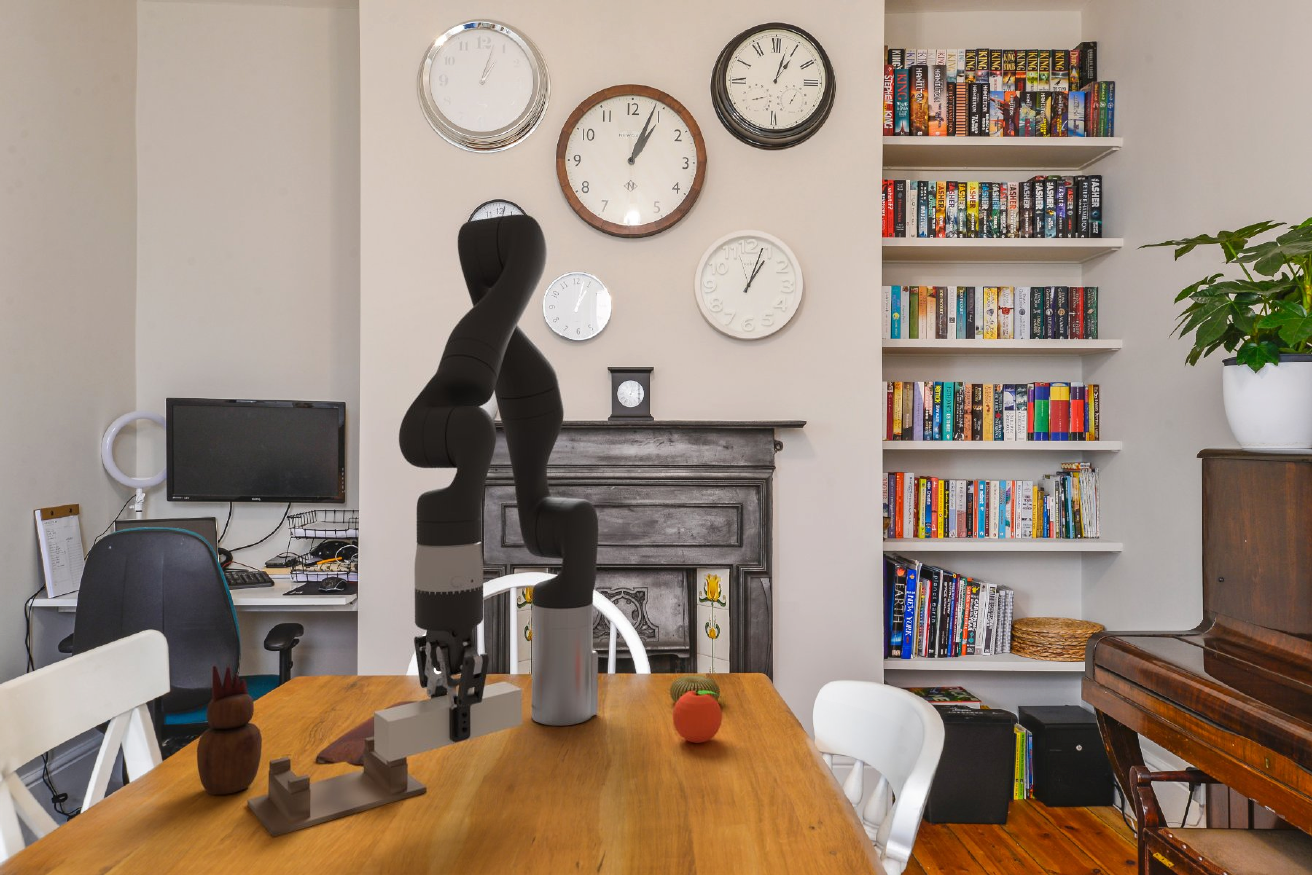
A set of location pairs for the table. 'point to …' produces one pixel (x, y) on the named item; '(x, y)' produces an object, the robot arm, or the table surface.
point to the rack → (331, 792)
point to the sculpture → (693, 686)
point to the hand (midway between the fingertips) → (450, 733)
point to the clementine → (697, 716)
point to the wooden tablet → (351, 743)
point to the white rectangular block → (443, 721)
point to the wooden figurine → (229, 738)
